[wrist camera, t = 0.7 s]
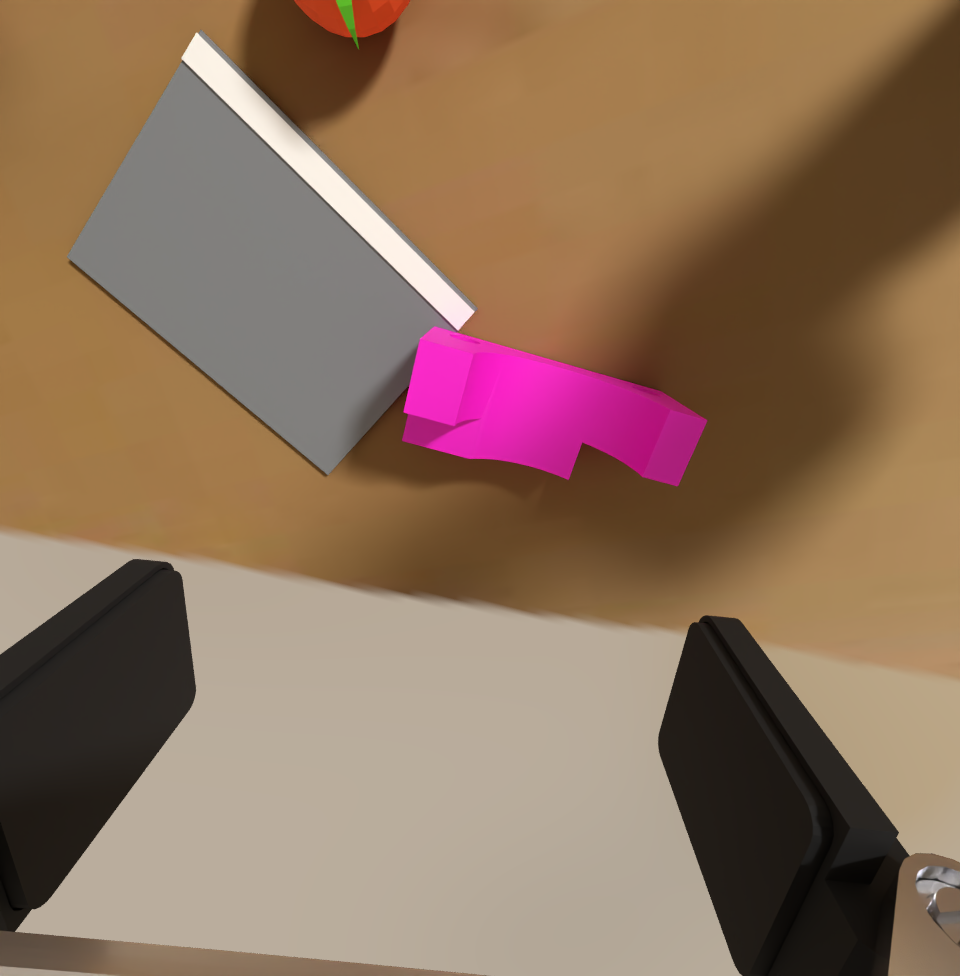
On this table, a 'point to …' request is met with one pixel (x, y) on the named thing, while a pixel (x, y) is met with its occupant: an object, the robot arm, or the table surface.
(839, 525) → the table surface
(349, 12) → the clementine
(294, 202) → the mat
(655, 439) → the toy block
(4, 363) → the table surface
